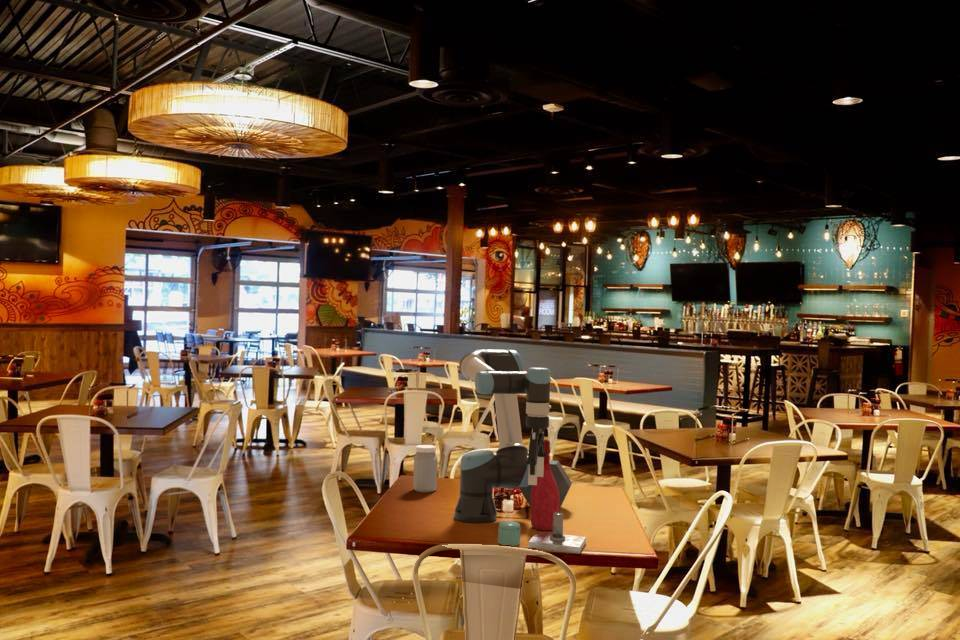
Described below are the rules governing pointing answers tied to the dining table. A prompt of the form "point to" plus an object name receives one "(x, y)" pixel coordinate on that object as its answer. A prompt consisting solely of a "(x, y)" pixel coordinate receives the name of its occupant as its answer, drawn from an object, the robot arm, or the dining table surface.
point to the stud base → (557, 539)
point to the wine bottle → (544, 497)
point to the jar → (425, 469)
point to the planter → (561, 481)
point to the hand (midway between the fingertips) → (535, 480)
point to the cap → (509, 533)
